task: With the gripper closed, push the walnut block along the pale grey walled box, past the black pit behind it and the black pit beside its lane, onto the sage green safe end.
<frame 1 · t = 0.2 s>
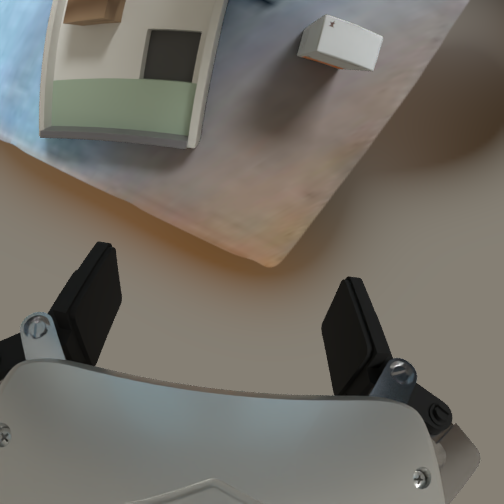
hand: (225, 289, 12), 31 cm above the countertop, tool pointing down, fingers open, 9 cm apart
skincare box: (322, 49, 31), on the countertop
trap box: (133, 23, 28), on the countertop
block: (105, 4, 24), point 2 cm above the countertop, touching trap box
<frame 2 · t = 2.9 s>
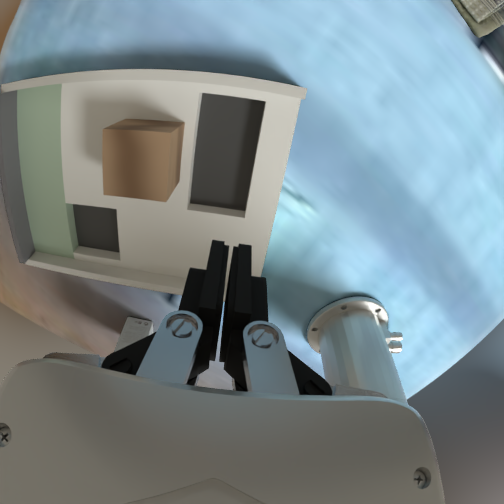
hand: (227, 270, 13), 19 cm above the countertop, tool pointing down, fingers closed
skincare box: (141, 329, 44), on the countertop
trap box: (130, 177, 30), on the countertop
block: (152, 149, 27), point 2 cm above the countertop, touching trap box
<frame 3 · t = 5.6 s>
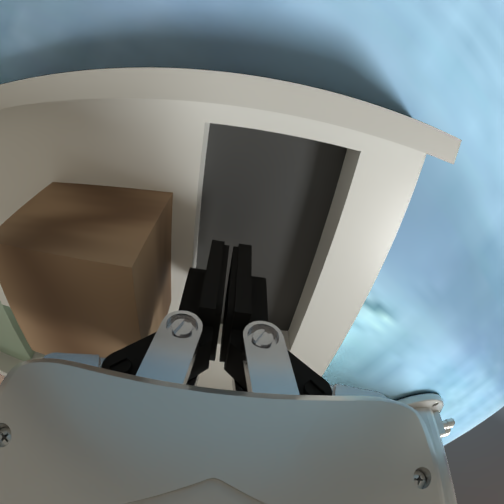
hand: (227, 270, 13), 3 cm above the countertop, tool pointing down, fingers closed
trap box: (88, 274, 17), on the countertop
block: (111, 244, 13), point 2 cm above the countertop, touching gripper
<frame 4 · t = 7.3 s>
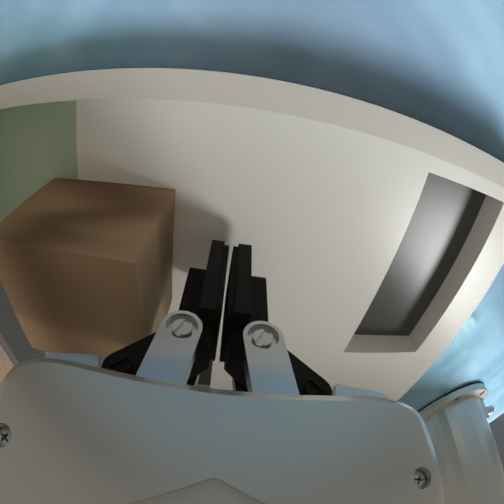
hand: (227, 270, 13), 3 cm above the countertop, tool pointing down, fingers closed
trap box: (237, 297, 18), on the countertop
block: (112, 241, 13), point 2 cm above the countertop, touching gripper
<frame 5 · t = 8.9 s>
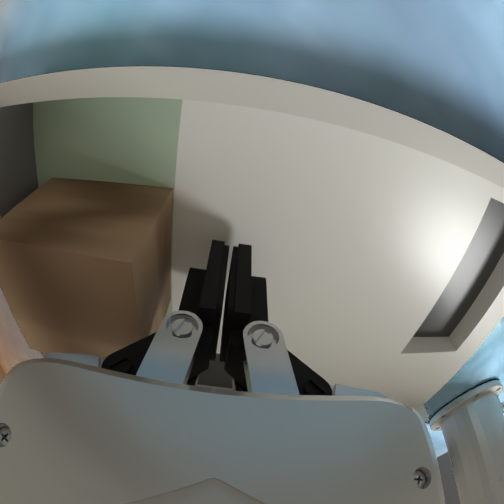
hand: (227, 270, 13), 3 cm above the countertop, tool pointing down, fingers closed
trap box: (311, 306, 18), on the countertop
block: (110, 241, 13), point 2 cm above the countertop, touching gripper, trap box
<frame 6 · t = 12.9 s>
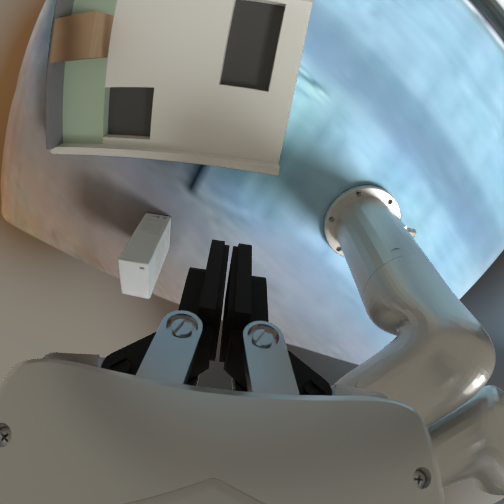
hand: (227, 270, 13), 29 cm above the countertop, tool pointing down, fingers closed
skincare box: (158, 230, 46), on the countertop
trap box: (169, 65, 32), on the countertop
block: (90, 38, 27), point 2 cm above the countertop, touching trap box
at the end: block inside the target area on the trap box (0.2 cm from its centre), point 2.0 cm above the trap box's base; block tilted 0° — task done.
